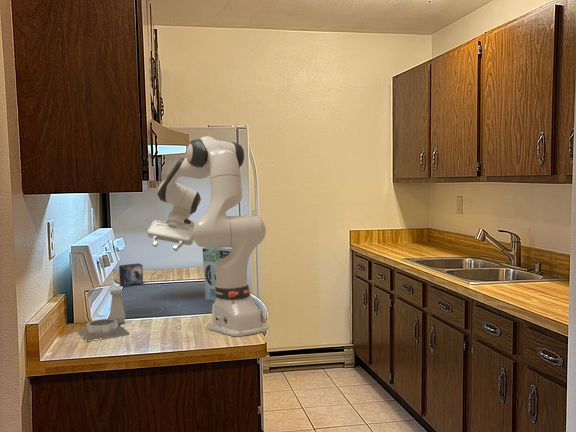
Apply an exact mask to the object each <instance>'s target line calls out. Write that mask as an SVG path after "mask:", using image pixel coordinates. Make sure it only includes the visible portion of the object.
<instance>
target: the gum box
mask: <svg viewBox="0 0 576 432" xmlns="http://www.w3.org/2000/svg"><path fill="white" fill-rule="evenodd" d="M201 248H202V262H203V265H202V266H203V275H204V276H203V277H204V280H203V281H204V295H205V298H204V299H205V300H207V301H211V302H215V300H216V296H215V287H216V270H215V268H216V265H217V263H218V262H219V261H220V260H221V259H223V258H225V257H226V256H228V255H229V254H230V253H231V252H232V249H231V248H226V247H224V248H205V247H201Z"/></svg>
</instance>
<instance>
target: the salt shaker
mask: <svg viewBox="0 0 576 432" xmlns="http://www.w3.org/2000/svg"><path fill="white" fill-rule="evenodd" d="M109 294H110V295H111V300H110V301H111V302H110V311H109V318H108V319H116V320H117V322H118V324H119V325H120V324H124V322H125V319H126V310H125V307H124V303H123V298H122V294H123V289H122V288H121V287H113V288H111V289H110V293H109Z"/></svg>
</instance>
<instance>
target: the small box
mask: <svg viewBox="0 0 576 432" xmlns="http://www.w3.org/2000/svg"><path fill="white" fill-rule="evenodd" d="M118 267H119V286H120V285H121V286H120V287H122V286H123V287H122V288H127V287H135V286H134V285H136V286H142V285H141V284H143V285H144V275H143V273H144V272H143V271H144V270H143V269H144V268H143V264H141V263H130V264H119V265H118Z"/></svg>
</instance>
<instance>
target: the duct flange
mask: <svg viewBox="0 0 576 432" xmlns="http://www.w3.org/2000/svg"><path fill="white" fill-rule="evenodd" d="M85 325H86V326H85V327H84V328H77V329H76V331H77V330H78V332H79V333H80V334H81V335H82V336H83V337H84V338H85V339H86V340H87V341H88V340H94V339H100V338H107V337H113V338H118V337H123V336H128V335H130V332H129V331H128V330H127V329H126V328H124V327H123V326H122V325H120V324H118V322H117V320H116V319H110V318H101V319H94V320H92V321H88V322H87V323H86V324H85ZM78 332H77V333H78ZM79 333H78V334H79ZM80 334H79V335H80ZM81 335H80V336H81ZM107 339H108V338H107Z"/></svg>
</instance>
